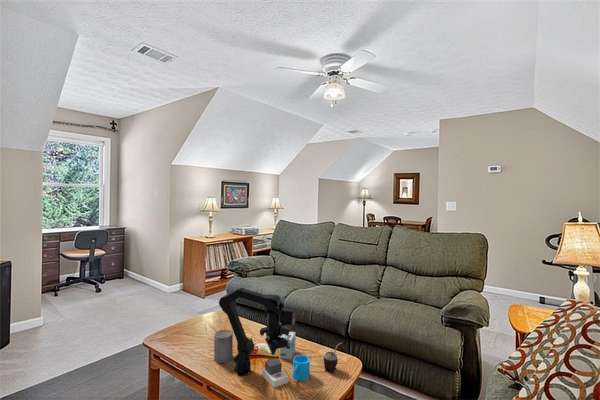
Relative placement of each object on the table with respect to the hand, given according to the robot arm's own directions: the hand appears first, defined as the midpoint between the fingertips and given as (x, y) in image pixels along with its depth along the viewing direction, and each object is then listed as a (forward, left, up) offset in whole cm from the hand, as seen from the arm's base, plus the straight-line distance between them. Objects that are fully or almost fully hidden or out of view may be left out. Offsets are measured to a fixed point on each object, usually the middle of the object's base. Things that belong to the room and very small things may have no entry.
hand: (273, 354), depth 153 cm
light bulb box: (+17, +15, -11) cm, 25 cm away
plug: (0, 0, -10) cm, 11 cm away
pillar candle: (-15, +29, -11) cm, 34 cm away
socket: (0, -2, -11) cm, 11 cm away
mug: (+11, -7, -11) cm, 17 cm away
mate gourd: (+28, -10, -11) cm, 32 cm away
